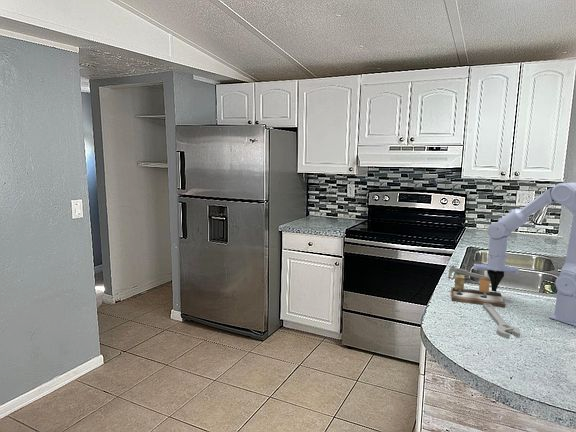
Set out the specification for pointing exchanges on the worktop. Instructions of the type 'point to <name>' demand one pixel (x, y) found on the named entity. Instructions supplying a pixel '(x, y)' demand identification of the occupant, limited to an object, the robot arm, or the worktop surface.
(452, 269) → the caliper
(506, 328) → the adjustable wrench
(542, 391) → the worktop surface
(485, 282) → the block
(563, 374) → the worktop surface
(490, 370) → the worktop surface
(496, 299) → the board
